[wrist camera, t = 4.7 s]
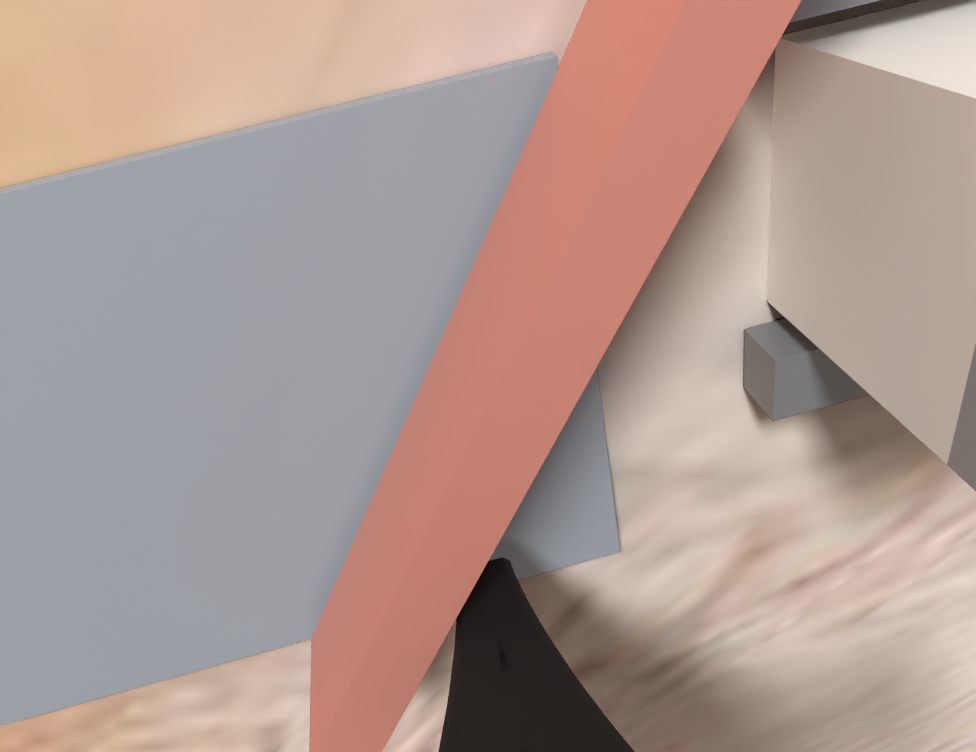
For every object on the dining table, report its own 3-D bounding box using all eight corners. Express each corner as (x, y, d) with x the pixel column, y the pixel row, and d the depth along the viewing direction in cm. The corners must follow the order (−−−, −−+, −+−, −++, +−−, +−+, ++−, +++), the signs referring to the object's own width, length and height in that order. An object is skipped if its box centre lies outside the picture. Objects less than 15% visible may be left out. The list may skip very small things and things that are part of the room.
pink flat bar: (784, -236, 8) (993, -297, 5) (373, 617, 14) (383, 770, 12) (680, -310, 7) (857, -412, 5) (301, 609, 14) (296, 767, 11)
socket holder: (1218, -212, 9) (1311, -224, 8) (1065, 299, 13) (1115, 327, 12) (749, -99, 9) (795, -99, 8) (743, 386, 13) (772, 421, 12)
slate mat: (550, 51, 9) (556, 56, 9) (615, 540, 14) (619, 551, 14) (-437, 296, 9) (-459, 308, 8) (-1, 712, 14) (-6, 727, 13)
